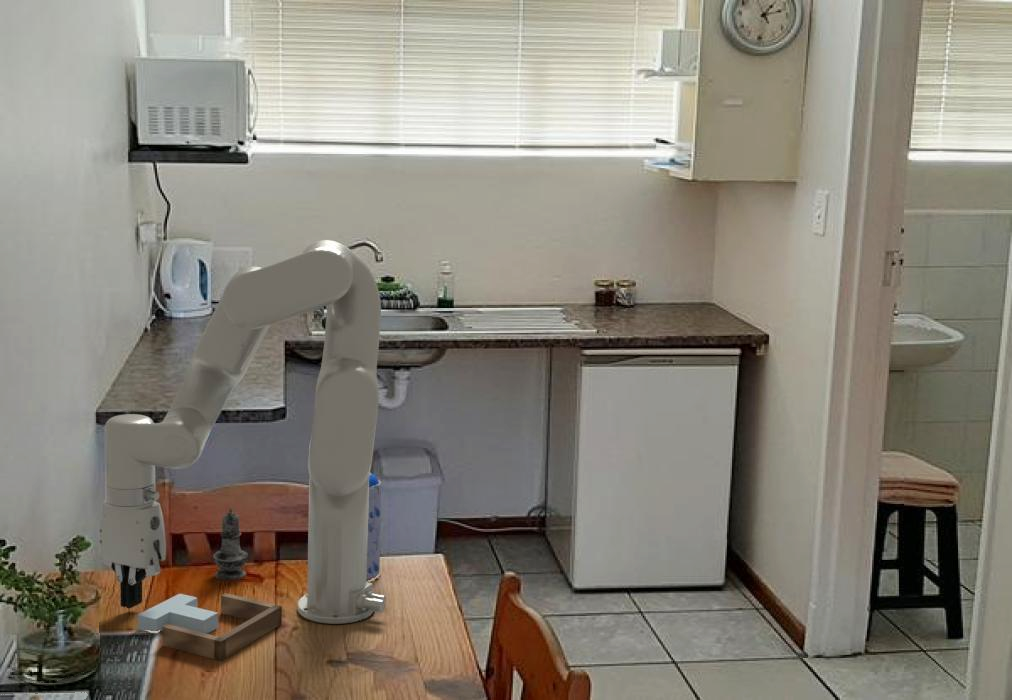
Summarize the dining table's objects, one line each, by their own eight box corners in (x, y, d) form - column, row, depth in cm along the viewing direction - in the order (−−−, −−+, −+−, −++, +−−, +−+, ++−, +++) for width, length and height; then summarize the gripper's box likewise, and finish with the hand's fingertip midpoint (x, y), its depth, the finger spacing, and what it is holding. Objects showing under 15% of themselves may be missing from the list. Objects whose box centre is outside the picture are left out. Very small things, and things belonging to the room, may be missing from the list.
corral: (162, 645, 184) (162, 626, 184) (225, 610, 198) (225, 593, 198) (220, 660, 180) (220, 641, 180) (281, 624, 194) (281, 606, 193)
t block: (137, 630, 190) (137, 614, 189) (179, 608, 199) (179, 593, 198) (190, 643, 186) (190, 628, 185) (230, 620, 195) (230, 605, 194)
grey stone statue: (250, 569, 217) (250, 503, 215) (244, 581, 211) (245, 514, 209) (216, 568, 217) (216, 502, 214) (210, 580, 211) (210, 513, 209)
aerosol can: (386, 570, 219) (389, 461, 215) (371, 586, 211) (374, 473, 208) (345, 564, 221) (347, 457, 217) (328, 580, 213) (330, 468, 210)
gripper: (184, 495, 193) (184, 606, 196) (109, 480, 199) (111, 588, 202) (152, 508, 186) (153, 622, 190) (76, 492, 192) (78, 603, 196)
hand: (131, 604), depth 196 cm, fingers closed
